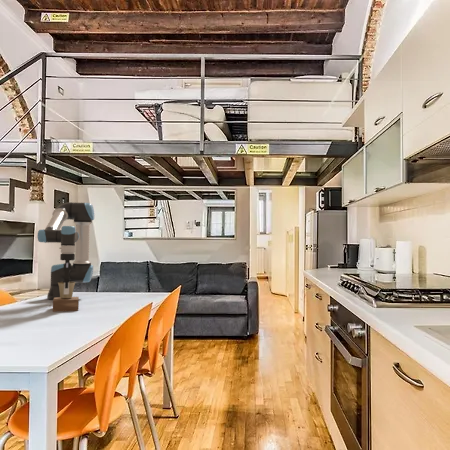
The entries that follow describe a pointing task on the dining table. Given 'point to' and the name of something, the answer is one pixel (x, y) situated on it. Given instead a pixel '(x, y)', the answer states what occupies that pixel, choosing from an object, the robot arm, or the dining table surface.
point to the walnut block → (65, 304)
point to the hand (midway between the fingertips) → (66, 293)
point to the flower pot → (61, 288)
